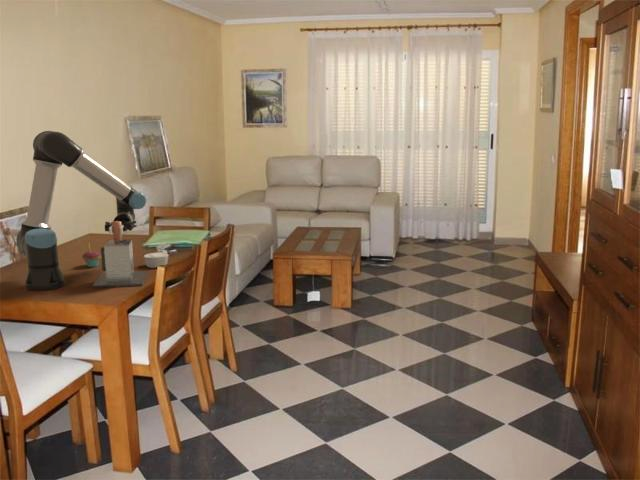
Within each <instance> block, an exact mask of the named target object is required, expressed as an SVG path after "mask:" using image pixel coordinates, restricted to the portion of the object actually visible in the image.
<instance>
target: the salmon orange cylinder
mask: <svg viewBox="0 0 640 480" xmlns="http://www.w3.org/2000/svg"><path fill="white" fill-rule="evenodd" d="M113 221H114V220H113ZM113 221H111V222H112V224H113V233H112V234H113V240H114V241H117V243H120V241H122V240H124V239H123V234H120V227H121V226H122V224H121V221H114V222H113Z"/></svg>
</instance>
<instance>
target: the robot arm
mask: <svg viewBox="0 0 640 480" xmlns="http://www.w3.org/2000/svg"><path fill="white" fill-rule="evenodd" d="M32 148H33V157H32V161H33V162H34V163H35V168H34V173H33V180H32V185H31V192H30V196H29V203H28V209H27V214H26V219H25V220H24V221H22V222H21V226H20V231H19V232H18V233H17V236H16V244H17V247H18V249H19V250H20V251H21V252H22V253H23V254H24V255H26V259H27V268H28V269H27V274H26V278H25V280H24V281H25V282H24V283H25V289H26V290H29V291H36V292H39V291H49V290H55V289H59V288H61V287H64V286H65V284H66V280H65V277H64V275H63V273H62V270H61V268H60V265H59V264H60V263H59V254H58V253H59V251H58V238H57V234H56V232H55V231H54V230H52V226H51V225H50V223H49V219H50V215H51V214H50V213H51V207H52V202H53V198H54V191H55V187H56V186H55V185H56V179H57V175H58V170H59V168H61V167H62V166H63V165H65V166H66V167H68V168H74V169H75V170H76V171H78V172H79V173H81V175H83V176H85V177H87V178H88V179H89V180H90V181H92V182H94V184H97V185H98V186H99V187H100V188H102V189H104V190H105V191H107V192H108V193H110V194H111V195H112V196H114V197H115V200H116V203H115V204H116V216H115V217H114V219H113V220H112V221H111V222H110V221H105V222H104V223H105V224H104V232H109V234H108V235H112V234H113V224H112V222H114V221H121V224H122V226H121V227H120V234H122V235H123V234H124V232H127V231H129V232H131V231H132V230H134V228H136V227H137V220H136V214H135V210H141V209H143V208H144V207H145V206H146V204H147V198H146V196H145V195H144V194H143V193H141V191H138V190H136V189H134V188H133V186H132V184H129V183H126V182H125V181H124V180H122V179H121V178H119V177H118V176H116V174H114V173H113V172H111V171H110V170H108V169H107V168H106V167H104V166H103V165H101V164H100V163H99V162H97V161H96V160H94V159H93V158H92V157H91V156H89V155H88V154H86V153H85V152H84V148H82V147H81V146H79V145H78V144H77V143H76V142H74V140H72V139H71V138H70V137H68V136H67V135H66V134H64V133H62V132H60V131H52V130H44V131H41V132H39V133H38V134H37V135H36V136H35V137H34V138H33V141H32Z"/></svg>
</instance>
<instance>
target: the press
mask: <svg viewBox="0 0 640 480" xmlns="http://www.w3.org/2000/svg"><path fill="white" fill-rule="evenodd" d="M100 254H101V258H100V259H101V269H102V271H103V272H104V273H99V275H98V276H97V277H96V280H95V281H94V283H93V284H92V286H91V287H92V289H101V288H103V289H105V288H123V287H124V288H126V287H142V286H143V285H144V283H145V280H146V278H147V275H148V271H135V266H134V253H133V239H123V240H122V241H120V243H117V241H114V239H110V240H106V242H105V243H104V245H103V246H101V247H100Z"/></svg>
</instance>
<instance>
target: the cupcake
mask: <svg viewBox="0 0 640 480" xmlns="http://www.w3.org/2000/svg"><path fill="white" fill-rule="evenodd" d="M90 246H91V245H90V243H89V242H87V247H88V251H86V252H84V253H83V254H82V255H81V257H82V260H83V261H84V262H85V264H86V267H89V268H93V267H94V268H95V267H98V266H99V262H100V260H101V259H102V258H101V252H99V251H96V250H91V247H90Z"/></svg>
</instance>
